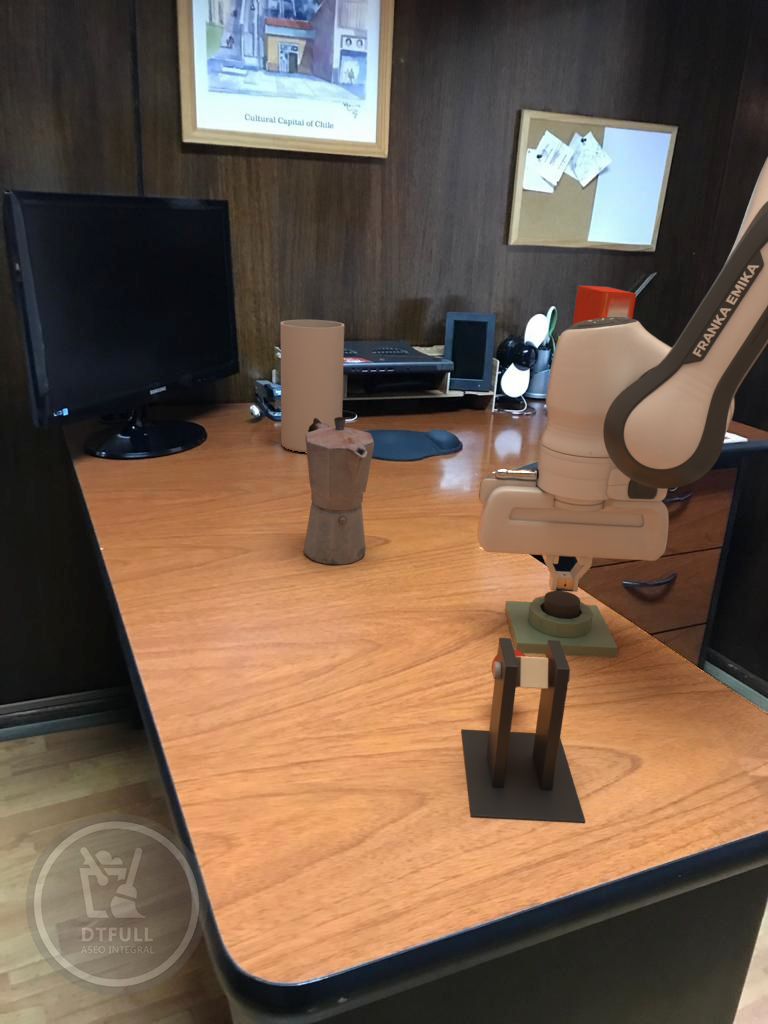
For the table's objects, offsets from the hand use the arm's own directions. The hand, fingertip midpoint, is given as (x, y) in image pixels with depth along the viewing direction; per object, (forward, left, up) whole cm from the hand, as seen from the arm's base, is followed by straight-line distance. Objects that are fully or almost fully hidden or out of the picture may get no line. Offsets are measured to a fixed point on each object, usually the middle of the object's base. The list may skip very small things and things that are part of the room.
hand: (562, 589), depth 87 cm
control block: (0, 0, -7) cm, 7 cm away
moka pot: (+28, -22, -7) cm, 36 cm away
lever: (+8, +21, 0) cm, 23 cm away
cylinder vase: (+37, -76, -7) cm, 85 cm away
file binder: (-27, -107, -7) cm, 111 cm away
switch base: (+8, +25, -7) cm, 27 cm away
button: (0, 0, -3) cm, 3 cm away
